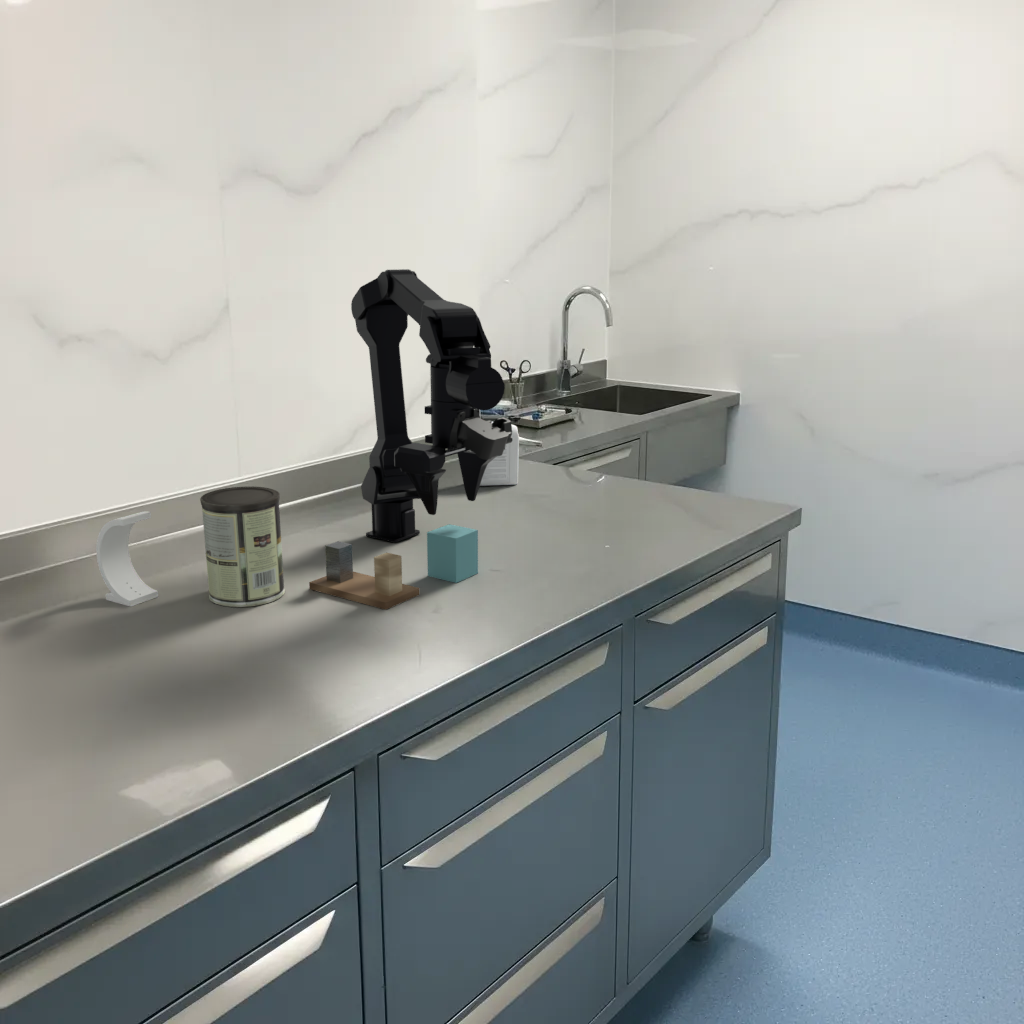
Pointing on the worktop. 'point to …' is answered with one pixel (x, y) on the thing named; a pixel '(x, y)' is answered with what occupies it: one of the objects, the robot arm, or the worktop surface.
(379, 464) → the robot arm
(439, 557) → the turquoise upright block
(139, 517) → the headphone stand
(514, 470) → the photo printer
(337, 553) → the dark metal post
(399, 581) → the maple post
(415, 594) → the walnut strip
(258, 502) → the coffee can
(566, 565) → the worktop surface
